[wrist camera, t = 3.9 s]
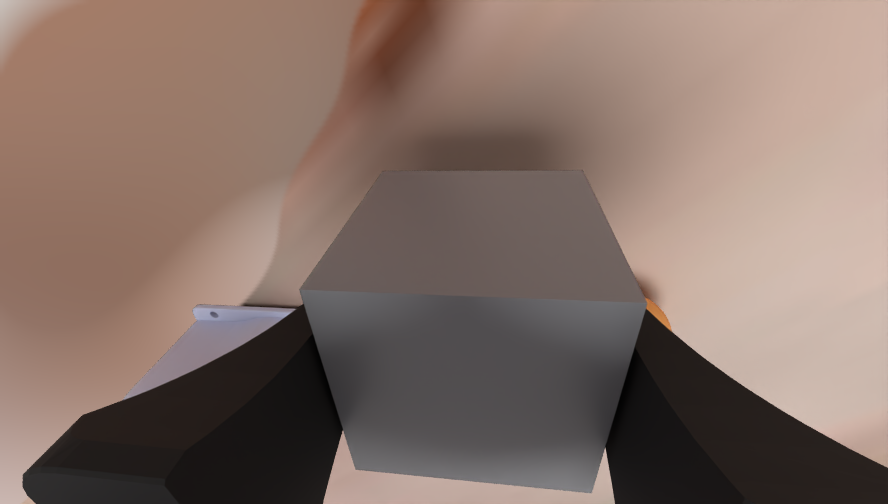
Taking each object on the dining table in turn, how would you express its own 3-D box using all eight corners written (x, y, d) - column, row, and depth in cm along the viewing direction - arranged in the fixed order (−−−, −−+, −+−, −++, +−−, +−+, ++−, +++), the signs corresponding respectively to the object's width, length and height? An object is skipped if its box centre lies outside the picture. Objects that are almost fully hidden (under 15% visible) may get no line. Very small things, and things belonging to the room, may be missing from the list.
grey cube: (403, 316, 15) (355, 469, 10) (382, 171, 12) (299, 289, 7) (560, 324, 15) (591, 493, 10) (582, 170, 11) (647, 303, 6)
